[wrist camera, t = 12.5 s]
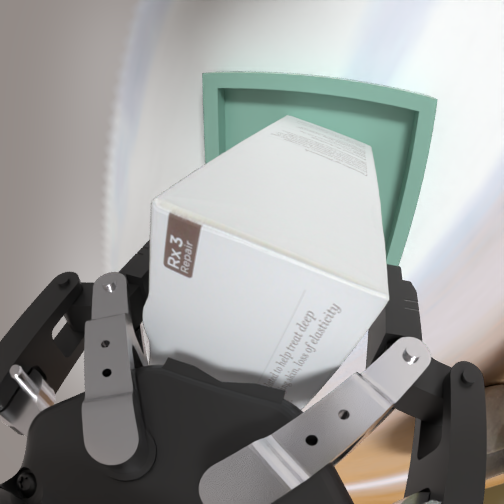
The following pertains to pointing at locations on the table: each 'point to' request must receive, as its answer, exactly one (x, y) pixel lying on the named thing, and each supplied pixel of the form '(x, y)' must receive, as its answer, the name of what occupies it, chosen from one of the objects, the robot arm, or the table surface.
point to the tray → (332, 128)
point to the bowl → (495, 430)
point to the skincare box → (269, 260)
